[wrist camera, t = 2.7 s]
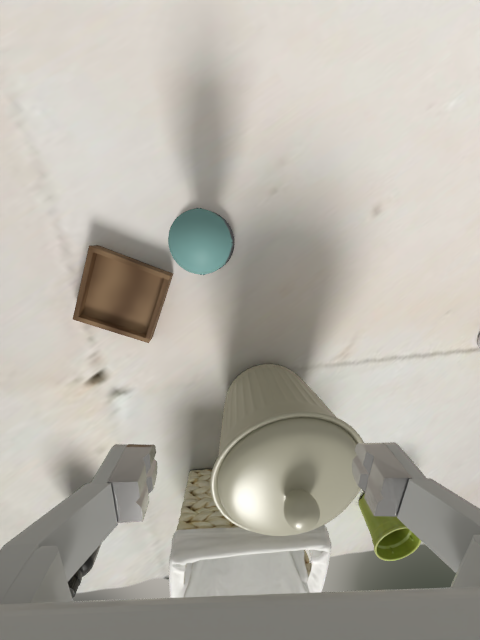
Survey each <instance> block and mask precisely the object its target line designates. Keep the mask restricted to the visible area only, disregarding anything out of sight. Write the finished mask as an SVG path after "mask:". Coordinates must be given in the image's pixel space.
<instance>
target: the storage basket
mask: <svg viewBox="0 0 480 640" xmlns="http://www.w3.org/2000/svg"><path fill="white" fill-rule="evenodd" d="M211 473H212V470H210V469H209V470H208V469H205V470H193V471H190V473H189V477H188V483H187V487H186V490H185V495H184V502H183V505H182V508H181V516H180V518H179V524H178V526H177V530H176V532H175V533H174V535H173V538H172V548H171V554H170V559H169V587H170V598H181V597H208V596H235V595H261V594H289V593H317V592H322V588H323V585H324V582H325V578H326V573H327V569H328V564H329V558H330V551H331V541H330V538H329V533H328V531H327V528H326V527H325V525H322V526H320V527H318V528H316V529H313V530H311V531H308V532H304V533H301V534H296V535H289V536H270V535H263V534H259V533H256V532H252V531H248V530H245V529H243V528H240V527H238V526H236V525H235V524H233V523H232V522H230V521H229V520H228V519H226V518H225V517H224V516H223V515H222V514H221V512H220V511H219V510H218V508H217V507H216V505H215V503H214V501H213V498H212V494H211V487H210V481H211ZM305 550H309V553H310V555H311V561H312V564H311V563H309V558H308V555H307V553H306V551H305Z"/></svg>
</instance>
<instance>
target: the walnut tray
mask: <svg viewBox="0 0 480 640" xmlns="http://www.w3.org/2000/svg"><path fill="white" fill-rule="evenodd" d="M172 276H173V274H172V273H170V272H167V271H164V270H162V269H159V268H156V267H154V266H151V265H149V264H146V263H143V262H141V261H138V260H135V259H133V258H130V257H127V256H125V255H122V254H120V253H117V252H114V251H112V250H109V249H106V248H104V247H101V246H98V245H94V246H89V249H88V254H87V258H86V262H85V267H84V271H83V276H82V280H81V285H80V289H79V294H78V298H77V303H76V307H75V311H74V316H73V320H77V321H80V322H83V323H86V324H89V325H93V326H96V327H99V328H102V329H105V330H109V331H112V332H115V333H118V334H121V335H125V336H128V337H131V338H134V339H137V340H141V341H144V342H147V343H149V342H150V340H151V339H152V337H153V334H154V331H155V328H156V325H157V322H158V319H159V316H160V313H161V310H162V307H163V304H164V301H165V298H166V294H167V291H168V288H169V285H170V282H171V279H172Z"/></svg>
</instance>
